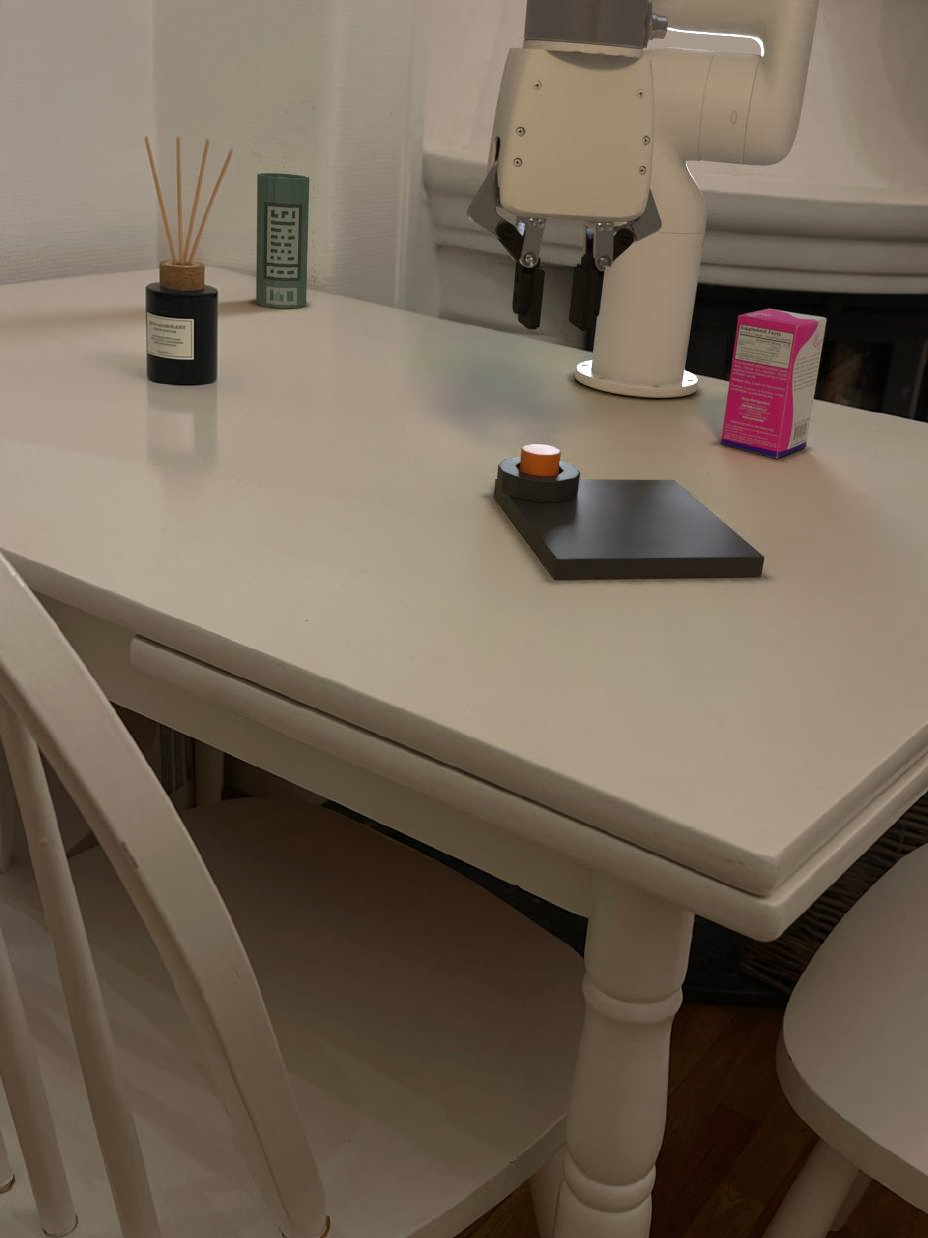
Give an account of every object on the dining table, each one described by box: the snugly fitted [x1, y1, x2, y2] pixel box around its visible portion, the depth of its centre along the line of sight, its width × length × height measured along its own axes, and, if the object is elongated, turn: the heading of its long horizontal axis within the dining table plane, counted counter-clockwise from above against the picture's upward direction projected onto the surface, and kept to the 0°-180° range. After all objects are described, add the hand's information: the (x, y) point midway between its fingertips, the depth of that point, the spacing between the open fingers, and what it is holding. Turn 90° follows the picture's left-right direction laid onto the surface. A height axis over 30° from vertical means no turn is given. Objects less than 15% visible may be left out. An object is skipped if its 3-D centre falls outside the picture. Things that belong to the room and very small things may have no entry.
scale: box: [493, 456, 765, 581], centre depth 87 cm, size 16×14×3 cm
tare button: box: [519, 443, 562, 476], centre depth 89 cm, size 3×3×2 cm
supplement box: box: [720, 308, 827, 460], centre depth 109 cm, size 6×6×12 cm
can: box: [255, 172, 310, 309], centre depth 153 cm, size 6×6×15 cm
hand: (554, 323), depth 86 cm, fingers open, 3 cm apart
